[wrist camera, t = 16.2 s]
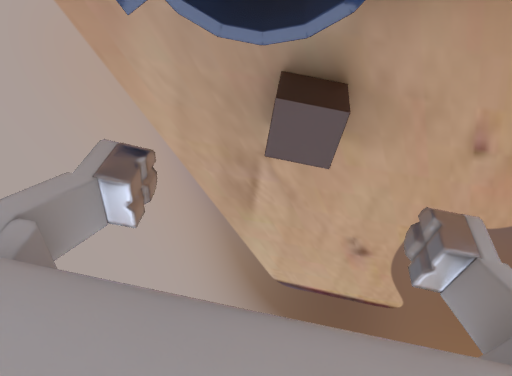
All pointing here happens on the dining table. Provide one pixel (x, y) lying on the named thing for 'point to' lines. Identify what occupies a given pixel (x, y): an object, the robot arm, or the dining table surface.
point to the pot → (259, 17)
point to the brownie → (307, 120)
